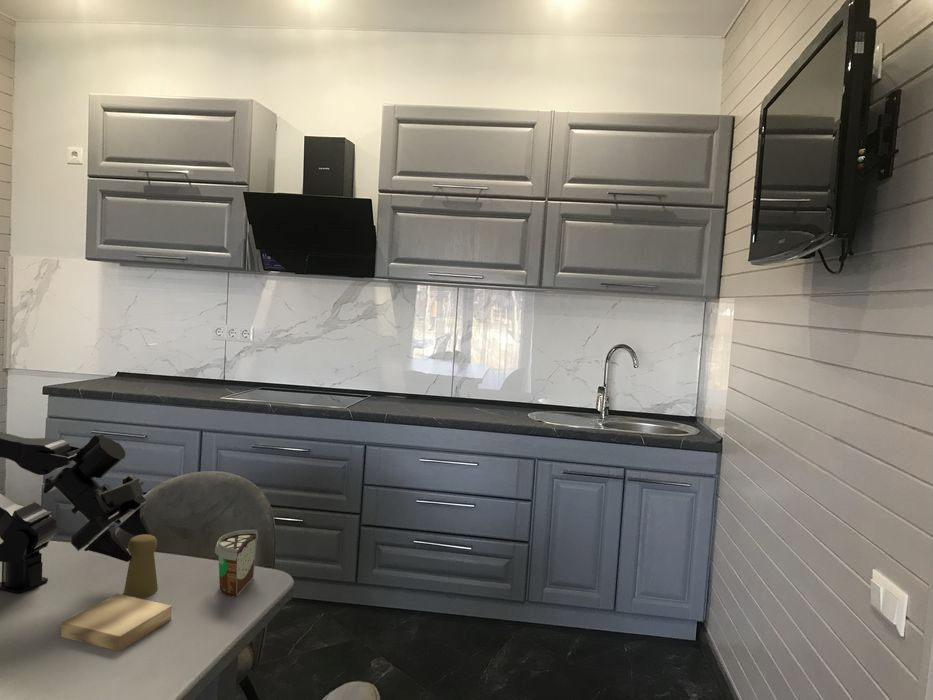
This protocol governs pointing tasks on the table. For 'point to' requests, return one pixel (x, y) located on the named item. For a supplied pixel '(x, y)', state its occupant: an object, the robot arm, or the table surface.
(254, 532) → the food container
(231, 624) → the table surface
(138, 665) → the table surface
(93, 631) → the oak board
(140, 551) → the cork
